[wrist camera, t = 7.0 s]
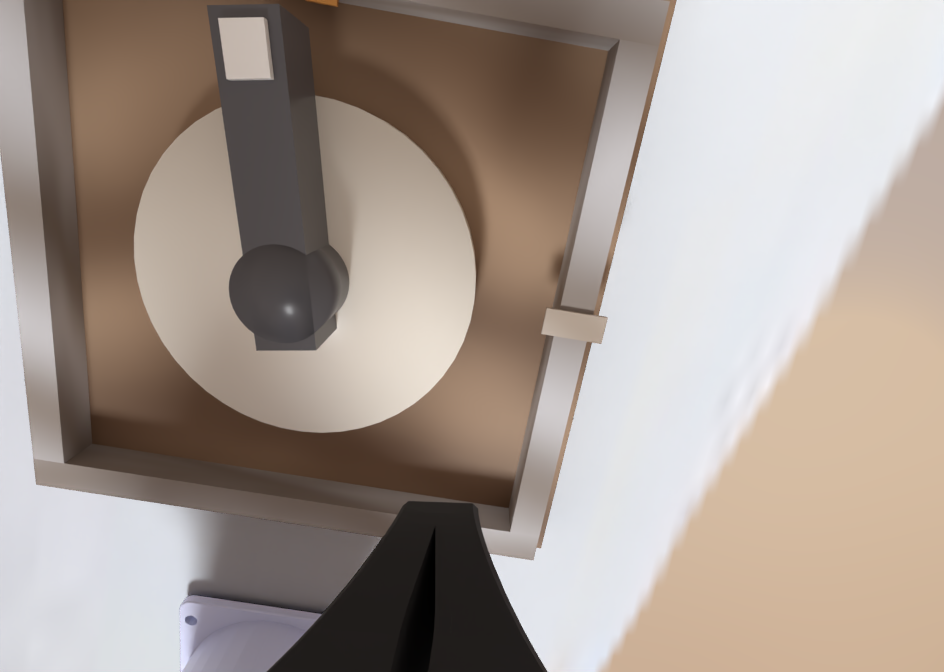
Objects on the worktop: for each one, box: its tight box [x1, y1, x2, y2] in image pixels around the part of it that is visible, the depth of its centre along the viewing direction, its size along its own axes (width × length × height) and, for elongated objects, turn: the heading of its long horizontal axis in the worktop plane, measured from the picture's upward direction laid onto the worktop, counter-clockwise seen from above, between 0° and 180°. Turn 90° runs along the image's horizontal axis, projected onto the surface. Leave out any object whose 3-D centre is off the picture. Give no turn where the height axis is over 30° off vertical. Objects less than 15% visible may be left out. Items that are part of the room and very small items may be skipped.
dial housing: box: [0, 0, 676, 560], centre depth 16 cm, size 18×18×3 cm
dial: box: [134, 4, 476, 433], centre depth 14 cm, size 12×10×3 cm
